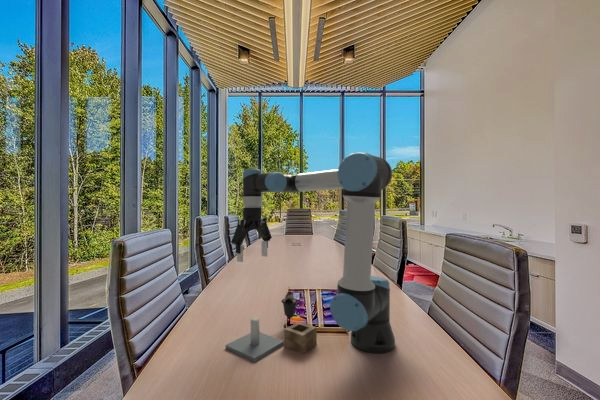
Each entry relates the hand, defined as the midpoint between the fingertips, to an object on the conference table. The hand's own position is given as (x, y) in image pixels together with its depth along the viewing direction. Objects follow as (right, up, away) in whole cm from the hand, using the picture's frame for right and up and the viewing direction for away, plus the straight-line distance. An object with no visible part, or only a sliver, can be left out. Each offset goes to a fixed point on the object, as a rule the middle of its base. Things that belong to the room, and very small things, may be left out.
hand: (252, 258), depth 121 cm
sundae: (+15, -26, -3) cm, 31 cm away
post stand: (+4, -26, -20) cm, 33 cm away
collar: (+19, -26, -19) cm, 38 cm away
